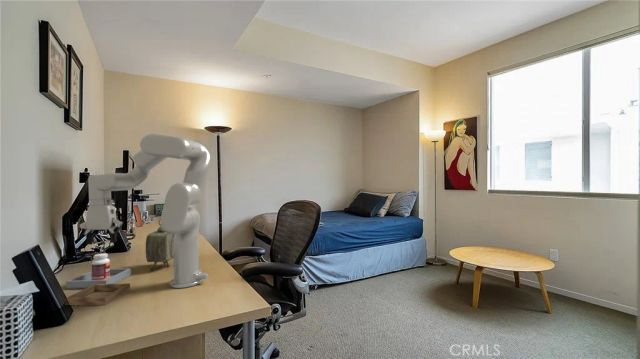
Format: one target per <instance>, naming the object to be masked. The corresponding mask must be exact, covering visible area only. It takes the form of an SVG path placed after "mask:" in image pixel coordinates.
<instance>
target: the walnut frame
mask: <svg viewBox="0 0 640 359" xmlns="http://www.w3.org/2000/svg"><path fill="white" fill-rule="evenodd" d="M130 290H131V283H130V282H128V283H115V284H94V285H92V286H90V287H88V288H86V289H82V290H79V291H78V292H76V293H74V294H71V295H70V296H67V297H66V298H67V299H68V301H69V303H70V304H71V305H72V306H71V307H74V306H73V305H75V307H76V306H77V305H80V306H82V307H83V306H105V305H107V304H109V303H110V302H112V301H114V300H115V299H117V298H119V297H120V296H122V295H124V294H125V293H127V292H129V291H130ZM95 292H111V293H109V294H107V295H105V296H90V294H94V293H95ZM77 307H78V306H77Z"/></svg>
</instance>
